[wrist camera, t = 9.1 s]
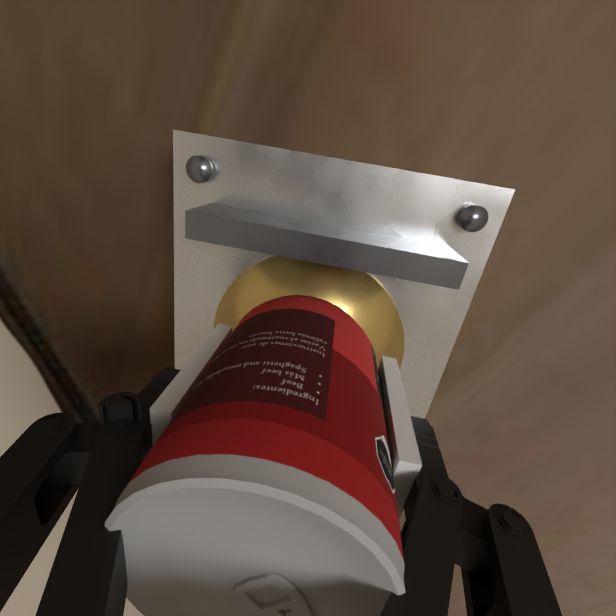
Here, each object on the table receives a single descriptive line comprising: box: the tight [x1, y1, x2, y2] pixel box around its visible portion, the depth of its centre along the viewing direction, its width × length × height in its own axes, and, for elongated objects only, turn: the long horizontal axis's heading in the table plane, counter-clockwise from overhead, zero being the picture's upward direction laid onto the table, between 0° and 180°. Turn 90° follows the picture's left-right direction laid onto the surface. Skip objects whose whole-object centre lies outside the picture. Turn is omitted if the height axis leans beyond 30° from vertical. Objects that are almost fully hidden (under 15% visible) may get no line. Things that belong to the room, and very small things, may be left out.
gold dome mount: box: [173, 130, 515, 419], centre depth 20 cm, size 20×16×8 cm
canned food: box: [105, 295, 405, 616], centre depth 13 cm, size 8×8×11 cm
